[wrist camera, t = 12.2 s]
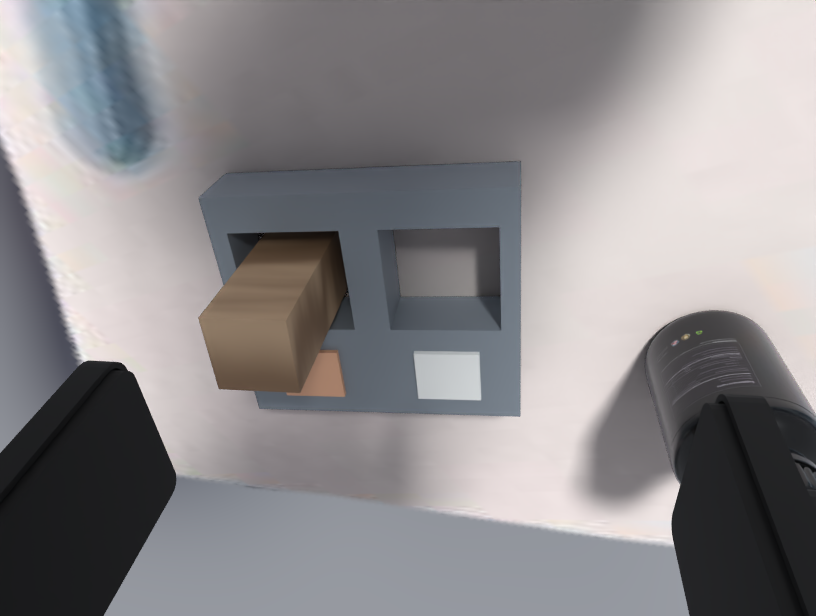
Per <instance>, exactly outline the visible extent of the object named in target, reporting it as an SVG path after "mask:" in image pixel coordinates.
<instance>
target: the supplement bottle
mask: <svg viewBox="0 0 816 616" xmlns="http://www.w3.org/2000/svg"><path fill="white" fill-rule="evenodd" d="M645 371H646V377H647V381H648V385H649V388H650V392H651V395H652V399H653V403H654V406H655V410H656V413H657V417H658V420H659V424H660V427H661V431H662V435H663V438H664V442H665V445H666V449H667V452H668V456H669V459H670V463H671V466H672V469H673V472H674V474H675V477H676V479H677V481H678V482H679V484H680V485H681V482H682V478H683V474H684V471H685V467H686V464H687V460H688V456H689V453H690V449H691V446H692V442H693V438H694V435H695V431H696V428H697V424H698V420H699V417H700V413H701V410H702V407H703V405H704V404H705V403H715V401H716V398H717V397H718V396H719V394H735V395H754V396H762V397H764V398H765V399H766V401H767V402H768V404H769V406H770V409H771V411H772V413H773V415H774V417H775V420H776V422H777V424H778V426H779V428H780V431H781V433H782V435H783V437H784V439H785V442H786V444H787V446H788V448H789V451H790V453H791V455H792V457H793V459H794V462H795V464H796V466H797V468H798V470H799V473H800V475H801V477H802V479H803V482H804V484H805V486H806V488H807V489H808V490H816V414H815V412H814V410H813V409H812V407H811V405H810V404H809V402H808V400H807V399H806V397H805V396H804V394H803V392H802V391H801V389H800V387H799V386H798V384H797V382H796V381H795V379H794V377H793V376H792V374H791V372H790V371H789V369H788V368H787V366H786V364H785V363H784V361H783V359H782V358H781V356H780V354H779V353H778V351H777V349H776V348H775V346H774V345H773V343H772V342H771V340H770V339H769V337H768V335H767V334H766V333H765V332H764V330H763V329H762V328H761V327H760V326H759V325H758V324H756V323H755V322H754V321H752V320H750V319H749V318H747V317H745V316H742V315H740V314H737V313H733V312H728V311H719V310H710V311H702V312H696V313H692V314H689V315H686V316H684V317H681V318H679V319H677V320H675V321H673V322H672V323H670V324H669V325H667V326H666V327H665V328H664V329H662V330H661V331H660V332H659V333H658V334H657V336H656V337H655V338H654V339H653V341H652V343H651V344H650V346H649V348H648V351H647V354H646V358H645Z"/></svg>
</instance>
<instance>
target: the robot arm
mask: <svg viewBox="0 0 816 616" xmlns="http://www.w3.org/2000/svg"><path fill="white" fill-rule="evenodd" d="M175 485H176V473H175V470H174V468H173V465H172V463H171V461H170V458H169V456H168V454H167V451H166V449H165V446H164V444H163V442H162V439H161V437H160V435H159V432H158V430H157V427H156V425H155V423H154V420H153V418H152V416H151V413H150V411H149V409H148V406H147V404H146V401H145V399H144V397H143V394H142V392H141V390H140V387H139V385H138V382H137V380H136V378H135V376H134V374H133V373H132V372H130V371H128V370H127V368H126V367H125V365H123V364H122V363H119V362H106V361H86V362H83V363H82V364H81V365H80V366H78V368H77V369H76V370H75V371H74V372H73V373H72V374H71V375H70V376H69V378H68V379H67V380H66V381H65V382H64V383H63V384H62V385H61V386H60V388H59V389H58V390H57V391H56V392H55V393H54V394H53V395H52V396H51V398H50V399H49V400H48V401H47V402H46V403H45V404H44V405H43V407H41V409H40V410H39V411H38V412H37V413H36V414H35V415H34V416H33V418H32V419H31V420H30V421H29V422H28V423H27V424H26V425H25V426H24V428H23V429H22V430H21V431H20V432H19V433H18V434H17V435H16V436H15V437H14V439H13V440H12V441H11V442H10V443H9V444H8V445H7V446H6V448H5V449H4V450H3V451H2V452H1V453H0V616H104V614H105V612H106V610H107V609H108V607H109V605H110V603H111V601H112V600H113V598H114V596H115V594H116V593H117V591H118V589H119V587H120V586H121V584H122V582H123V580H124V579H125V577H126V575H127V573H128V571H129V570H130V568H131V566H132V564H133V563H134V561H135V559H136V557H137V556H138V554H139V552H140V550H141V549H142V547H143V545H144V543H145V542H146V540H147V538H148V536H149V534H150V533H151V531H152V529H153V527H154V526H155V524H156V522H157V520H158V519H159V517H160V515H161V513H162V511H163V510H164V508H165V506H166V505H167V503H168V501H169V499H170V497H171V496H172V494H173V491H174V489H175ZM672 536H673V541H674V546H675V551H676V555H677V560H678V564H679V569H680V574H681V578H682V583H683V587H684V592H685V596H686V601H687V606H688V610H689V615H690V616H816V490H808V489H807V488H806V486H805V484H804V482H803V479H802V477H801V475H800V473H799V470H798V468H797V466H796V464H795V462H794V459H793V457H792V455H791V453H790V451H789V448H788V446H787V444H786V442H785V439H784V437H783V435H782V433H781V431H780V428H779V426H778V424H777V422H776V420H775V417H774V415H773V413H772V411H771V409H770V406H769V404H768V402H767V401H766V399H765V398H764V397H762V396H754V395H735V394H719V396H718V397H717V398H716V401H715V403H705V404H704V405H703V407H702V410H701V413H700V417H699V420H698V424H697V428H696V431H695V435H694V438H693V442H692V446H691V449H690V453H689V456H688V460H687V464H686V467H685V471H684V474H683V478H682V482H681V485H680V489H679V492H678V496H677V500H676V503H675V507H674V510H673V514H672Z"/></svg>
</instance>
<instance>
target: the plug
mask: <svg viewBox="0 0 816 616" xmlns="http://www.w3.org/2000/svg"><path fill="white" fill-rule="evenodd" d="M347 289H348V286H347V280H346V274H345V268H344V262H343V256H342V250H341V244H340V238H339V232H338V231H314V232H270V233H265V234H264V235H263V236H262V238H261V239H260V240H259V241H258V243H257V244H256V245H255V247H254V248H253V249H252V250H251V252H250V253H249V254H248V255H247V257H246V258H245V259H244V261H243V262H242V263H241V264H240V266H239V267H238V268H237V269H236V271H235V272H234V273H233V275H232V276H231V277H230V278H229V280H228V281H227V282H226V283H225V285H224V286H223V287H222V289H221V290H220V291H219V292H218V294H217V295H216V296H215V297H214V299H213V300H212V301H211V303H210V304H209V305H208V306H207V308H206V309H205V310H204V311H203V313H202V314H201V315H200V317H199V318H198V319H199V322H200V326H201V329H202V332H203V336H204V339H205V343H206V346H207V350H208V353H209V357H210V360H211V364H212V367H213V370H214V374H215V377H216V381H217V384H218V388H219V389H228V390H248V391H267V392H287V393H301V391H302V388H303V386H304V384H305V382H306V379H307V377H308V375H309V373H310V371H311V368H312V366H313V364H314V362H315V360H316V357H317V355H318V353H319V351H320V348H321V346H322V344H323V342H324V340H325V337H326V335H327V333H328V331H329V328H330V326H331V324H332V322H333V320H334V317H335V315H336V313H337V311H338V309H339V306H340V304H341V302H342V300H343V297H344V295H345V293H346V291H347Z"/></svg>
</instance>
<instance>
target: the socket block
mask: <svg viewBox="0 0 816 616" xmlns="http://www.w3.org/2000/svg"><path fill="white" fill-rule="evenodd" d="M199 202H200V205H201V209H202V212H203V216H204V219H205V222H206V226H207V229H208V233H209V236H210V240H211V243H212V247H213V250H214V253H215V257H216V260H217V264H218V267H219V271H220V274H221V278H222V281H223V284H224V285H225V283H226V282H227V281H228V280H229V278H230V277H231V276H232V275H233V273H234V272H235V271H236V269H237V268H238V267H239V266H240V264H241V263H242V262H243V261H244V259H245V258H246V257H247V255H248V254H249V253H250V252H251V250H252V249H253V248H254V247H255V245H256V244H257V243H258V241H259V237H258V233H270V232H314V231H338V232H339V238H340V244H341V250H342V256H343V262H344V268H345V274H346V280H347V286H348V291H349V297H343V300H342V302H341V304H340V306H339V309H338V311H337V313H336V315H335V317H334V320H333V322H332V324H331V326H330V328H329V331H328V333H327V335H326V337H325V340H324V342H323V344H322V346H321V348H320V351H319V353H318V355H317V357H316V360H315V362H314V364H313V366H312V368H311V371H310V373H309V375H308V377H307V379H306V382H305V384H304V386H303V388H302V391H301V393H287V392H267V391H255V395H256V398H257V402H258V405H259V408H260V409H287V410H320V411H353V412H386V413H419V414H453V415H486V416H519V417H520V329H521V161H514V162H490V163H465V164H441V165H417V166H392V167H368V168H344V169H320V170H295V171H271V172H247V173H226V174H224V175H223V176H222V177H221V178H220V179H219V180H218V181H217V182H216V183H214V184H213V185H212V186H211V187H210V188H209V189H208V190H207V191H205V192H204V193H203V194H202V195H201V196H200V197H199ZM489 227H499V229H500V285H501V296H488V297H401V296H400V288H399V279H398V271H397V262H396V254H395V245H394V237H393V230H401V229H445V228H489Z"/></svg>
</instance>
